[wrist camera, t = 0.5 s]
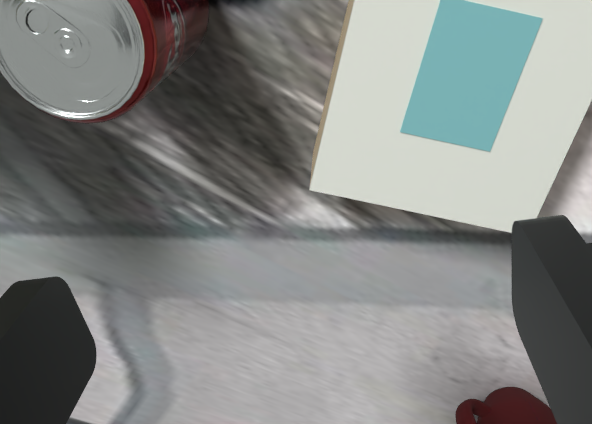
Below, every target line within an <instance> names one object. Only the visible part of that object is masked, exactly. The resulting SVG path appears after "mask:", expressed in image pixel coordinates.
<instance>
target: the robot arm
mask: <svg viewBox="0 0 592 424" xmlns="http://www.w3.org/2000/svg"><path fill="white" fill-rule="evenodd" d="M512 305H513V312H514V317H515V322H516V326H517V329H518V332H519V335H520V337H521V340H522V342H523V344H524V347H525V349H526V351H527V354H528V356H529V359H530V361H531V363H532V366H533V368H534V370H535V373H536V375H537V377H538V380H539V382H540V384H541V387H542V389H543V391H544V394H545V396H546V398H547V401H548V403H549V406H550V408H551V410H552V413H553V415H554V417H555V420H556V422H557V424H592V243H587V244H586V243H585V241H584V240H583V238H582V237H581V236H580V234H579V233H578V232H577V230H576V229H575V228H574V226H573V225H572V224H571V222H570V221H569V220H568V218H567V217H566V216H564V215H558V216H550V217H542V218H534V219H526V220H518V221H514V223H513V226H512ZM95 364H96V346H95V342H94V339H93V337H92V335H91V333H90V330H89V328H88V326H87V324H86V322H85V320H84V318H83V316H82V313H81V311H80V309H79V307H78V305H77V303H76V301H75V299H74V296H73V294H72V292H71V290H70V288H69V286H68V284H67V283H66V282H65V281H64V280H63V279H62V278H60V277H48V278H40V279H32V280H24V281H18V282H15V283H14V284H13V285H11V286H10V288H9V289H8V290H7V291H6V292H5V293H4V294H3V296H2V297H1V298H0V424H66V423H67V421H68V419H69V417H70V415H71V413H72V411H73V410H74V408H75V406H76V404H77V402H78V400H79V398H80V396H81V394H82V393H83V391H84V389H85V387H86V385H87V383H88V381H89V379H90V378H91V376H92V374H93V371H94V368H95Z"/></svg>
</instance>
